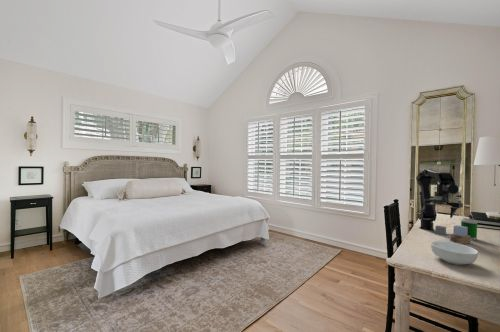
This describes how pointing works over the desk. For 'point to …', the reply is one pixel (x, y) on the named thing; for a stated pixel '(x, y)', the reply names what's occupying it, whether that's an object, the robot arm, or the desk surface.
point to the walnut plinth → (460, 239)
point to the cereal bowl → (454, 252)
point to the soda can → (470, 227)
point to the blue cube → (460, 230)
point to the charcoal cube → (440, 230)
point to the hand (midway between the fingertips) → (442, 216)
